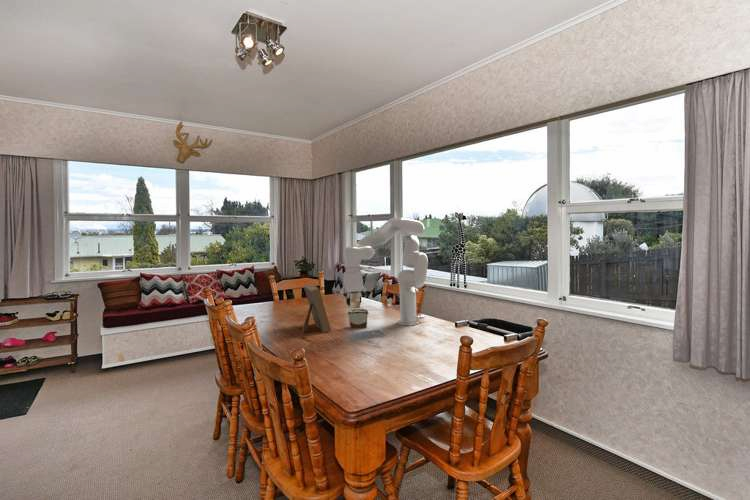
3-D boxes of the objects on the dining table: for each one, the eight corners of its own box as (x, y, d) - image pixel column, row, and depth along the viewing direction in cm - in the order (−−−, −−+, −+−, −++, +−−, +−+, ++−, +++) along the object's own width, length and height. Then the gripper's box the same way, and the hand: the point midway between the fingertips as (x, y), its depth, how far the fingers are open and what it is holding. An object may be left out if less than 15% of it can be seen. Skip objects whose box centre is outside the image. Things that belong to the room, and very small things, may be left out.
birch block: (357, 306, 205) (356, 291, 204) (360, 308, 200) (359, 292, 199) (348, 307, 203) (347, 292, 202) (350, 308, 198) (350, 293, 198)
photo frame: (321, 322, 234) (319, 282, 232) (331, 331, 214) (328, 287, 212) (297, 326, 229) (294, 284, 227) (304, 335, 208) (302, 290, 207)
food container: (370, 325, 225) (369, 308, 224) (369, 328, 218) (368, 310, 218) (349, 325, 226) (348, 308, 225) (347, 328, 220) (347, 311, 219)
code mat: (378, 329, 214) (378, 329, 214) (388, 336, 201) (388, 336, 201) (344, 334, 208) (344, 333, 208) (351, 341, 195) (351, 341, 195)
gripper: (365, 268, 207) (367, 301, 208) (335, 270, 201) (336, 305, 202) (370, 269, 200) (371, 304, 201) (338, 272, 194) (340, 307, 195)
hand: (353, 304), depth 201 cm, fingers closed on birch block, 5 cm apart
